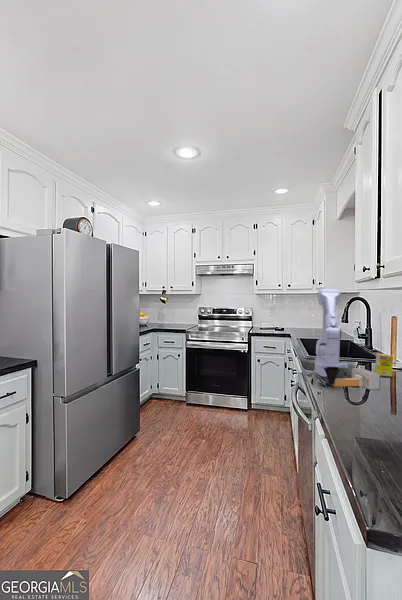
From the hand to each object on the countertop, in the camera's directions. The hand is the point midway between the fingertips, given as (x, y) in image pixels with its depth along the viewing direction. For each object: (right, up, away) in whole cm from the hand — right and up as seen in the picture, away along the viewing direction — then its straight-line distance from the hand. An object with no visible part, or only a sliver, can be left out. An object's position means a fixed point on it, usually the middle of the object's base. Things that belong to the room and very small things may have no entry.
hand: (331, 383), depth 138 cm
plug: (+10, -1, +2) cm, 10 cm away
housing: (+17, -1, +3) cm, 17 cm away
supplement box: (+36, -2, +20) cm, 41 cm away
